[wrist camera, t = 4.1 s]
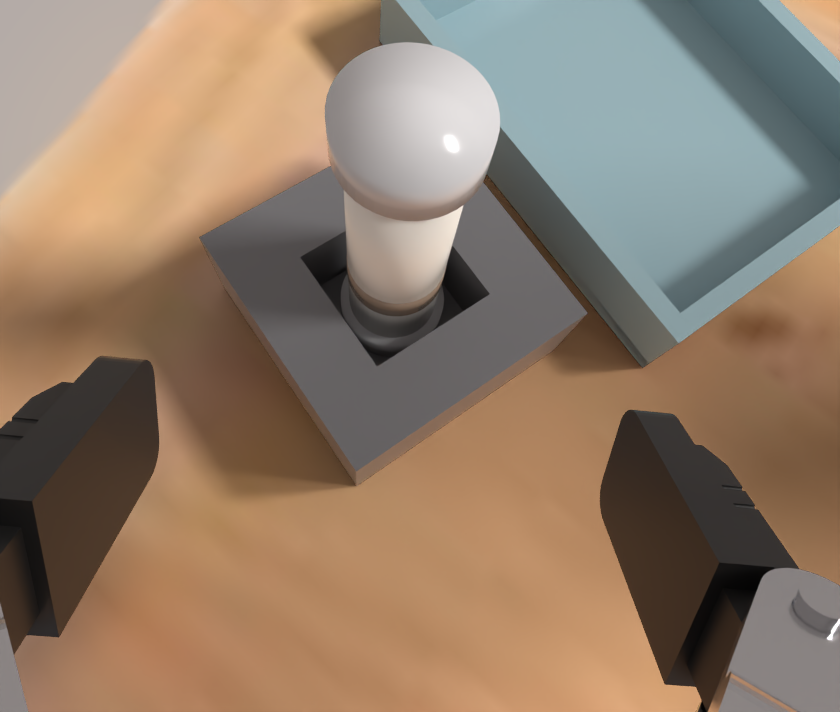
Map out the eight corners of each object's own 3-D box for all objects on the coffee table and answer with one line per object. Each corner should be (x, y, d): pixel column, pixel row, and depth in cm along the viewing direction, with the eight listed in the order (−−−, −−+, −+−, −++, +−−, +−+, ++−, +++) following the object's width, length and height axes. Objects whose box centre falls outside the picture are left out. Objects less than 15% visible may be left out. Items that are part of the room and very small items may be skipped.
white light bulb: (403, 247, 25) (434, 16, 14) (459, 322, 24) (535, 138, 13) (322, 296, 24) (290, 89, 13) (377, 375, 23) (390, 222, 13)
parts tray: (615, -77, 32) (640, -140, 29) (876, 197, 28) (933, 156, 26) (379, 40, 29) (381, -17, 26) (642, 367, 25) (679, 343, 22)
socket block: (418, 176, 27) (427, 113, 23) (552, 350, 25) (587, 313, 21) (224, 287, 25) (199, 237, 21) (356, 486, 23) (355, 471, 19)
